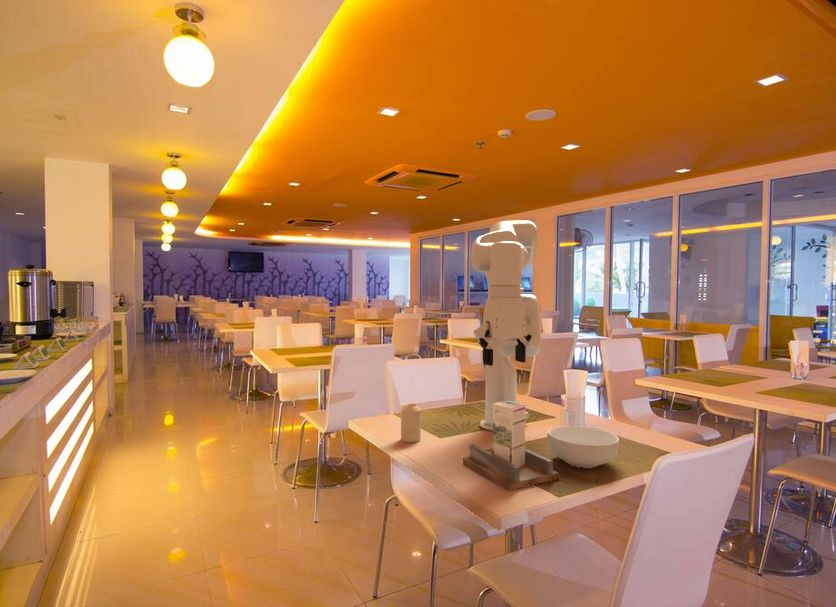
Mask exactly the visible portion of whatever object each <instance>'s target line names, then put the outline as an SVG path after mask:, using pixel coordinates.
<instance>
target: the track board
mask: <svg viewBox="0 0 836 607" xmlns="http://www.w3.org/2000/svg"><path fill="white" fill-rule="evenodd" d="M468 449H469V453H468V454H469V456H465V457H463V459H462V464H463V465H464V466H465V467H468V468H470V470H472V471H475V472H476V473H478V474H480V475H481V476H483V477H485V478H487V479H489V480H490V481H491V482H493V483H495V484H496V483H497V485H498V486H500V487H501V486H502V487H501V488H503V487H504V488H503V489H505V488H506V489H508V490H509V491H511V490H510V489H513V490H515V489H514V488H518V489H520V488H519V487H522V488H524V487H523V486H527V485H532V484H536V485H539V484H538V483H541V484H544V483H543V482H545V483H548V482H547V481H550V482H553V481H552V480H554V481H557V480H556V479H559V480H560V472H558V471H556V470H554V461H553V459H550V458H548V457H546V456H543V455H541V454H538V453H536V452H534V451H532V450H530V449H527V448H525V465H523V466H521V467H518V466H516V465H514V464H512V463H510V462H508V461H506V460H504V459H502V458H501V457H499V456H497V455H495V454H493V453H492V452H490V451H489V450H488V449H487V450H486V449H484V448H483V447H480V446H479V445H477V444H474V443H471V444H469V448H468ZM532 486H533V485H532ZM527 487H528V486H527ZM506 489H505V490H506ZM508 490H507V491H508Z"/></svg>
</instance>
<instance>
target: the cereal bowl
mask: <svg viewBox="0 0 836 607" xmlns="http://www.w3.org/2000/svg"><path fill="white" fill-rule="evenodd" d="M547 444H548V447H549V449H550V452H551V453H552V454H553V455H555V457H557V458H558V459H561V460H563V461H564V462H565V463H566V464H567V463H568V464H567V465H569V464H570V466H571V467H575V466H576V468H580V467H583V468H582V469H593V467H594V468H597V467H598V466H601V465H605V464H607V463H610V462H611V461H613V460H614V459H615V458H616V456H617V454H618V453H619V448H620V439H619V437H618V436H617V435H616V434H614V433H612V432H609V431H607V430H603V429H599V428H593V427H588V426H586V427H585V426H573V425H572V426H571V425H570V426H567V425H566V426H558V427H552V428H549V430H548V431H547ZM596 466H597V467H596Z"/></svg>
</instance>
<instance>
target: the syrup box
mask: <svg viewBox="0 0 836 607" xmlns="http://www.w3.org/2000/svg"><path fill="white" fill-rule="evenodd" d="M525 412H526V404H524V403H520V402H517V401H516V402H511V401H500V402H497V403H495V404H493V431H492V445H491V448H492V450H491V451H492V452H491V453H493V454H495V455H497V456H499V457H501V458H502V459H504V460H506V461H508V462H510V463H512V464H514V465H516V466H518V467H521V466H523V465H525V449H526V418H525Z"/></svg>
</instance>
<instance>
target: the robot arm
mask: <svg viewBox="0 0 836 607" xmlns="http://www.w3.org/2000/svg"><path fill="white" fill-rule="evenodd" d="M538 241H539V232H538V228H537V225H535V223H534V222H533V221H530V220H503V221H498V222H495V223H494V224H492V226H491V227H490V228H489V230H488V233H485V234H484V235H480V236H478V237H476V238H475V240H474V241H473V243H472V246H471V254H470V260H471V261H470V262H471V266H472V269H474V270H475V271H476V272H477V273H478V272H479V273H484V276H485V278H486V281H487V288H488V289H487V290H488V291H487V292H488V295H487V298H486V299H485V300H486V301H485V304H484V310H483V316H482V317H483V319H482V325H480V326H479V327H477V328H476V329H474V331H473V335H474V336H475V339H476V342H477V343H478V344H479V346H480V348H482V363H483V365H485V396H484V398H485V404H484V405H485V407H484V408H485V409H484V411H485V412H484V416H485V418H484V419H481V421H479V425H480V427H481V428H482V429H484V430H488V431H491V432H493V404H495V403H497V402H500V401H511V402H516V403H517V389H518V388H517V384H518V382H517V379H518V376H517V374H518V372H517V368H516V366H515V365H514V364H513V362H512V361H511V360H510V359H509V357H514V359H515V361H516V362H520V363H526V357H535V356H538V355H539V353H540V352H541V348H542V333H541V313H540V312H541V311H540V310H541V309H540V303H539V300H538V298H537V297H536V296H535V295H533V294H529V293H525V289H524V288H523V287H522V271H523V270H524V269H525V267H528V266H531V265H532V264H533V263H534V261H535V259H536V254H537V248H538ZM528 418H530V415H529V412H528V411H525V419H528Z"/></svg>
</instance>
